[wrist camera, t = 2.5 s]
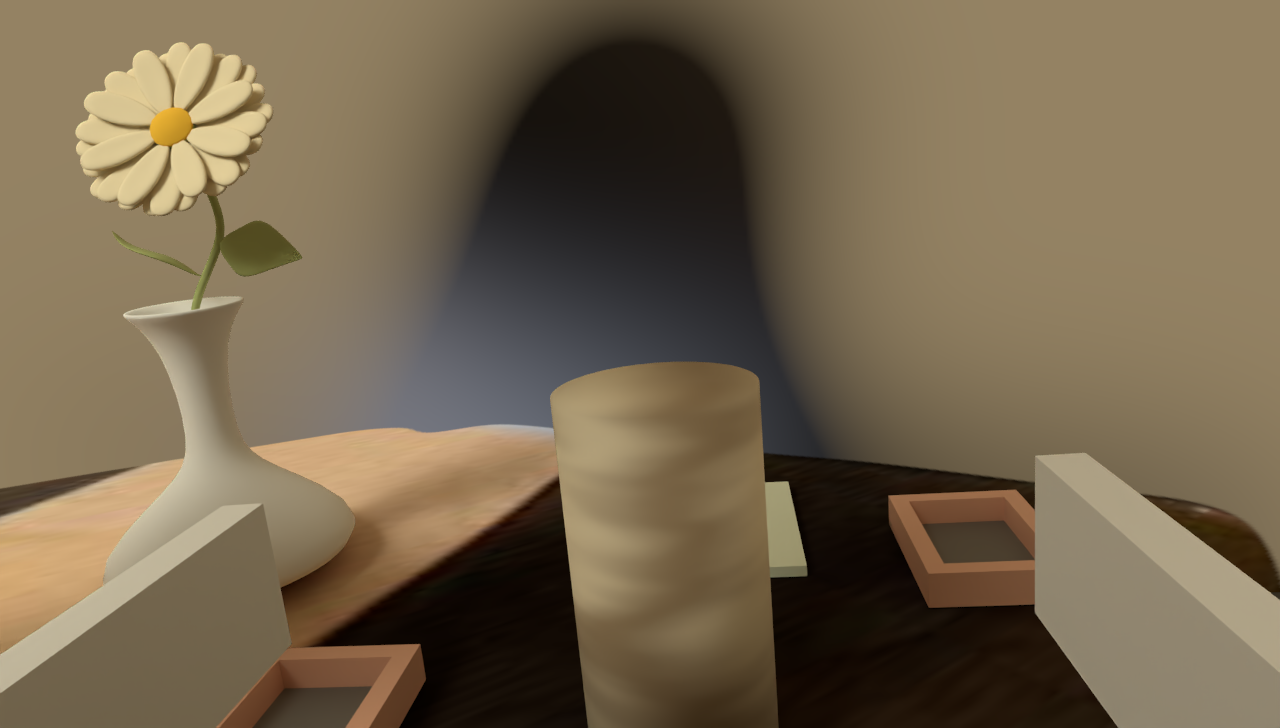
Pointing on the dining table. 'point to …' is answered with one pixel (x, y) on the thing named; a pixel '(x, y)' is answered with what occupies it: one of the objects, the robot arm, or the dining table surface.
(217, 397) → the flower in vase
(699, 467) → the birch canister
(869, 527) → the dining table surface
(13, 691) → the robot arm
